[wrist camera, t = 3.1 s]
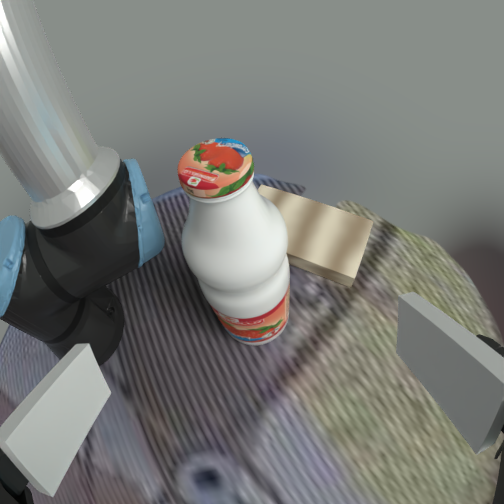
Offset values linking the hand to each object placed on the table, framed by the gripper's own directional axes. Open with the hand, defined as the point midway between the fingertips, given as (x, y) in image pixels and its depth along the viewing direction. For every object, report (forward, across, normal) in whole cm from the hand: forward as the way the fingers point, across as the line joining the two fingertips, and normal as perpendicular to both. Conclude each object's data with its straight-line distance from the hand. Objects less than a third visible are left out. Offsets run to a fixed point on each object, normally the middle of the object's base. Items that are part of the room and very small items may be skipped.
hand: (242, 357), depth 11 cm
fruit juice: (+29, -1, -11) cm, 31 cm away
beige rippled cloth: (+37, +9, -3) cm, 38 cm away
